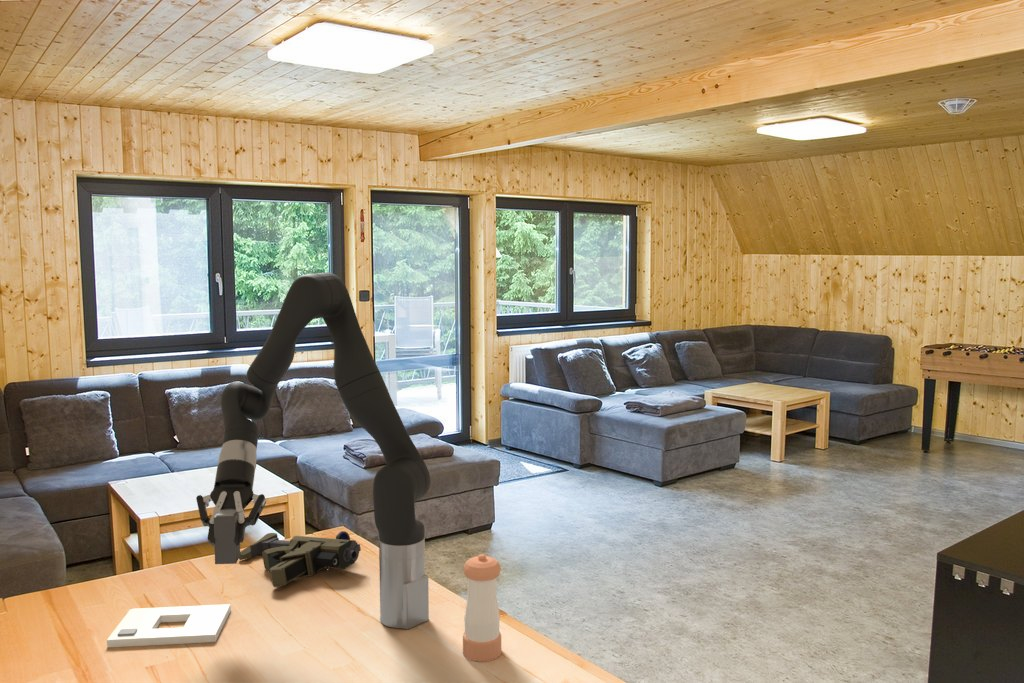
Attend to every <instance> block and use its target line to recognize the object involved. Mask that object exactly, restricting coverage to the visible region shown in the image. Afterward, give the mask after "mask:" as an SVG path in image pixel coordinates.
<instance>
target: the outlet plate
mask: <svg viewBox="0 0 1024 683" xmlns="http://www.w3.org/2000/svg"><path fill="white" fill-rule="evenodd" d="M231 609H232V607H231V603H227V604H226V603H225V604H205V605H204V604H201V605H187V606H186V605H182V606H161V607H142V608H141V607H139V608H138V607H137V608H130V609H129V610H128V612H127V613H126V615H125V616H124V617H123V618H122V619H121V621H120V622H119V624H118V625H117V626H116V627H115V629H114V630H113V631H112V633H111V634H110V635H109V636H108V638H107V639H106V648H107V647H108V648H124V647H143V646H147V647H148V646H164V645H185V644H201V643H216V642H217V640H218V638H219V636H220V633H221V632H222V630H223V628H224V626H225V624H226V622H227V620H228V618H229V615H230V613H231V611H232V610H231ZM174 622H175V623H178V622H185V624H184V626H181V627H159V626H160V625H161V623H174ZM158 627H159V628H158Z"/></svg>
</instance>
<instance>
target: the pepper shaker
mask: <svg viewBox="0 0 1024 683" xmlns="http://www.w3.org/2000/svg"><path fill="white" fill-rule="evenodd" d="M463 565H464V566H463V568H462V571H463V574H464V575H465V577H466V579H467V581H466V582H467V587H466V588H467V593H466V594H467V599H466V605H465V610H464V612H465V613H464V620H463V622H464V632H463V634H462V654H463V657H465V658H466V659H467V660H469V661H473V662H480V663H481V662H484V663H485V662H491V661H493V660H496V659H497V658H499V657H500V656H501V655H502V634H501V632H500V622H501V621H500V620H501V619H500V617H501V616H500V610H499V603H498V598H497V595H498V594H497V593H498V592H497V590H498V589H497V584H498V583H497V578H498V577H499V575H500V573H501V570H502V568H501V565H500V563H499V561H498V560H497V559H496V558H494V557H491V556H487V555H486V554H483V553H481V554H478V555H477V556H473V557H470V558H469V559H467V560H466V562H465V563H464V564H463Z"/></svg>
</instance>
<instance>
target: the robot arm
mask: <svg viewBox="0 0 1024 683" xmlns="http://www.w3.org/2000/svg"><path fill="white" fill-rule="evenodd" d="M275 319H276V320H275V321H274V324H273V326H272V329H271V330H270V333H269V335H268V337H267V339H266V340H265V342H264V344H263V346H262V347H261V349H260V351H259V352H258V353H257V355H256V357H255V358H254V359H253V361H252V363H250V365H249V367H248V369H247V371H246V378H247V381H248V382H249V383H250V384H251V385H250V384H247V383H244V382H242V381H232V382H230V383H227V385H226V386H225V387H224V389H223V391H222V393H221V397H220V407H221V413H222V414H221V415H222V418H223V426H224V432H223V440H222V444H221V448H220V453H219V455H218V456H219V457H218V460H217V461H218V462H217V469H216V474H215V480H214V485H213V489H212V491H211V492H210V494H209V495H204V496H203V495H201V494H199V495H197V496H196V499H195V500H196V503H197V508H198V513H199V518H200V521H201V523H202V526H203V527H209V528H208V532H207V533H208V534H207V541H208V543H209V544H210V545H211V546H212V547H215V540H214V516H215V515H216V514H217V512H219V511H220V510H236V512H238V524H237V528H236V535H235V539H234V543H235V544H236V546H239V545H240V546H241V543H243V542H244V539H245V533H246V532H245V531H246V528H247V527H248V526H255V525H256V524H257V522H258V520H259V517H260V515H262V514H261V513H262V512H263V510H264V508H265V506H266V504H267V499H266V497H265V494H263V493H261V494H259V495H258V494H255V493H254V490H253V488H254V480H255V473H256V469H257V449H258V443H259V442H258V441H259V435H260V434H259V433H260V430H259V427H258V425H257V424H256V423H255V422H254V421H261V420H263V419H264V418H265V417H267V416H268V414H269V412H270V410H271V408H272V407H271V406H272V402H273V398H274V395H275V393H276V389H277V387H278V385H279V384H280V382H281V380H282V379H283V377H284V376H285V374H286V373H287V372H288V370H289V368H290V367H291V365H292V363H293V361H294V358H295V351H296V344H297V341H298V338H299V336H300V335H301V332H303V330H304V329H305V328H306V327H307V325H309V324H310V323H311V321H313V320H315V319H323V321H324V324H325V325H326V326H327V329H328V332H329V334H330V336H331V339H332V344H333V352H334V355H333V356H334V357H333V358H334V359H333V377H334V382H335V386H336V389H337V391H338V393H339V395H340V397H341V398H340V399H342V402H343V404H344V406H345V408H346V410H347V412H348V413H349V415H350V416H351V417H352V418H353V420H354V421H356V423H357V424H358V425H359V426H360V427H362V428H363V429H364V430H365V431H366V432H367V433H368V434H369V436H370V437H372V438H373V440H374V441H375V442H376V444H377V445H378V447H379V449H380V451H381V453H382V455H383V458H384V460H385V463H386V464H385V465H384V466H383V467H381V468H380V469H378V471H377V472H376V474H375V475H374V478H373V479H374V480H373V484H372V498H373V515H374V516H373V517H374V524H375V527H376V529H377V531H378V543H379V544H378V545H379V546H378V548H379V550H378V553H379V554H378V556H379V560H378V562H379V614H380V616H379V618H380V619H379V620H380V622H381V623H382V624H383V625H384V626H386V627H389V628H392V629H394V628H395V629H404V630H410V629H412V628H414V627H415V626H419V625H420V624H422V623H425V622H427V621H429V620H430V619H429V617H430V616H429V614H430V613H429V612H430V610H429V609H430V608H429V606H430V604H429V603H430V602H429V590H430V588H429V575H427V574H426V572H425V571H426V562H425V560H426V559H425V556H426V555H425V554H426V553H425V551H426V550H425V547H426V546H425V542H426V540H425V537H426V536H425V531H426V530H425V525H424V523H423V521H421V520H419V519H418V518H417V519H416V510H415V509H416V508H415V502H417V501H419V500H421V499H422V498H424V497H425V496H426V495H427V494H428V492H429V490H430V488H431V475H430V471H429V468H428V466H427V465H426V462H425V460H424V458H423V457H422V455H421V454H420V452H419V451H418V448H417V447H416V445H415V443H414V442H413V440H412V438H411V436H410V434H409V433H408V431H407V429H406V427H405V425H404V423H403V420H402V418H401V416H400V414H399V411H398V410H397V408H396V405H395V403H394V401H393V400H392V398H391V394H390V392H389V390H388V387H387V385H386V382H385V381H384V378H383V376H382V374H381V371H380V369H379V367H378V365H377V364H376V361H375V359H374V357H373V355H372V353H371V350H370V347H369V345H368V343H367V340H366V338H365V336H364V332H363V331H362V329H361V326H360V323H359V321H358V318H357V315H356V312H355V308H354V305H353V302H352V300H351V296H350V293H349V291H348V288H347V287H346V284H345V282H344V281H343V280H342V279H341V277H339V276H338V275H337V274H335V273H332V272H318V273H315V272H314V273H308V274H307V273H306V274H302V275H300V276H298V277H297V278H296V279H295V280H294V281H293V282H292V283H291V285H290V287H289V289H288V291H287V294H286V296H285V298H284V301H283V303H282V306H281V307H280V310H279V312H278V315H277V317H276V318H275ZM211 501H212V503H213V504H214V505H215V506H214V508H213V512H212V515H211V517H209V516H208V512H207V508H208V507H209V506H210V502H211ZM251 502H253V506H252V508H251V510H250V512H249V514H248V516H246V514H245V513H246V512H245V509H246V507H247V506H248V505H249V504H251Z"/></svg>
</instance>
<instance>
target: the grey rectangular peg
mask: <svg viewBox="0 0 1024 683" xmlns="http://www.w3.org/2000/svg"><path fill="white" fill-rule="evenodd" d="M237 524H238V512H236V510H220V511H219V512H217V514H216V515H215V516H214V540H215V546H214V564H215V565H234V564H235V565H237V563H238V561H239V560H240V559H239V558H240V552H241V544H240V545H239V546H236V544H235V543H234V539H235V535H236V528H237Z"/></svg>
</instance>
